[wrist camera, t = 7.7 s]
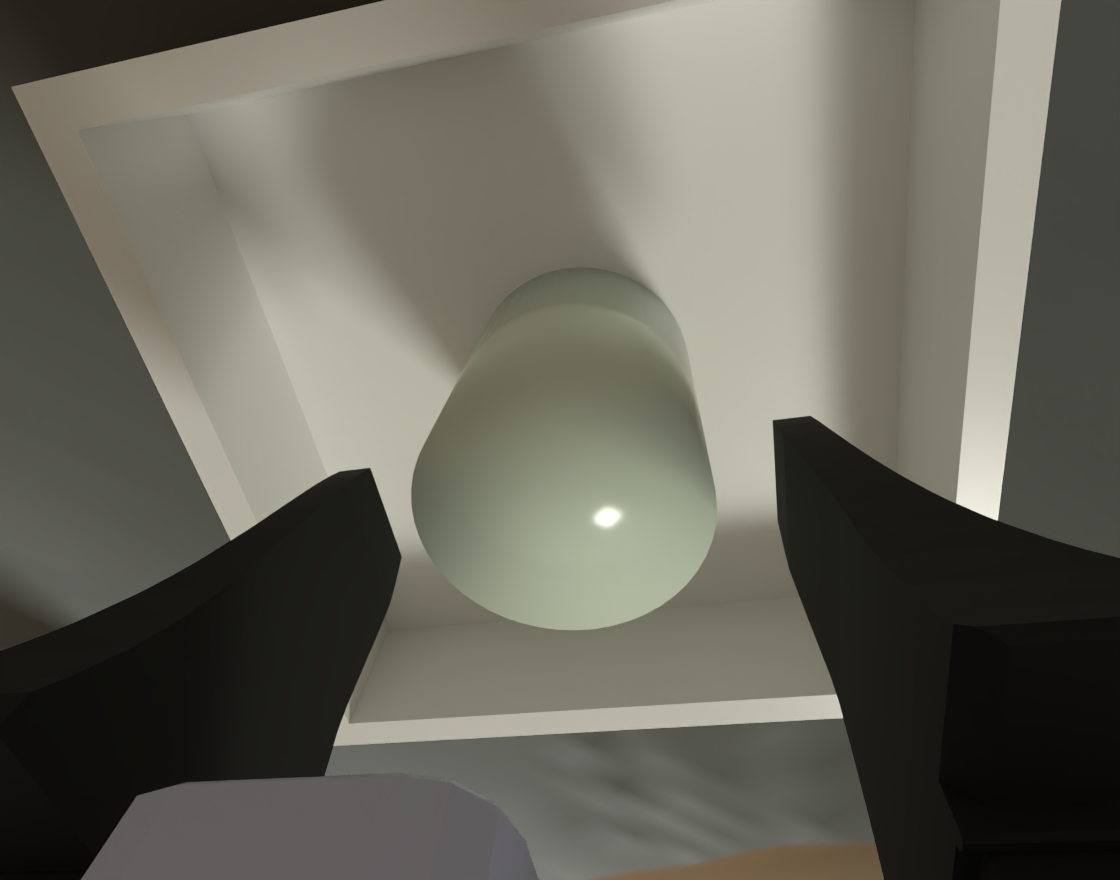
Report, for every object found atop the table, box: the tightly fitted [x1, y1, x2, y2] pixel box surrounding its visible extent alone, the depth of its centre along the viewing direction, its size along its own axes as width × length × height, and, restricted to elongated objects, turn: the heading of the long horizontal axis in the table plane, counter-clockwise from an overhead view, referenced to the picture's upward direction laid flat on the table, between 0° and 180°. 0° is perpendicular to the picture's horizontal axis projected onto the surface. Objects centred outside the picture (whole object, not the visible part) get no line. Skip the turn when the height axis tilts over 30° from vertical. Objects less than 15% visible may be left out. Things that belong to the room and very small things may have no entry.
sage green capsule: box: [411, 267, 717, 630], centre depth 14 cm, size 5×5×6 cm
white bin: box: [11, 0, 1061, 746], centre depth 16 cm, size 16×16×4 cm
